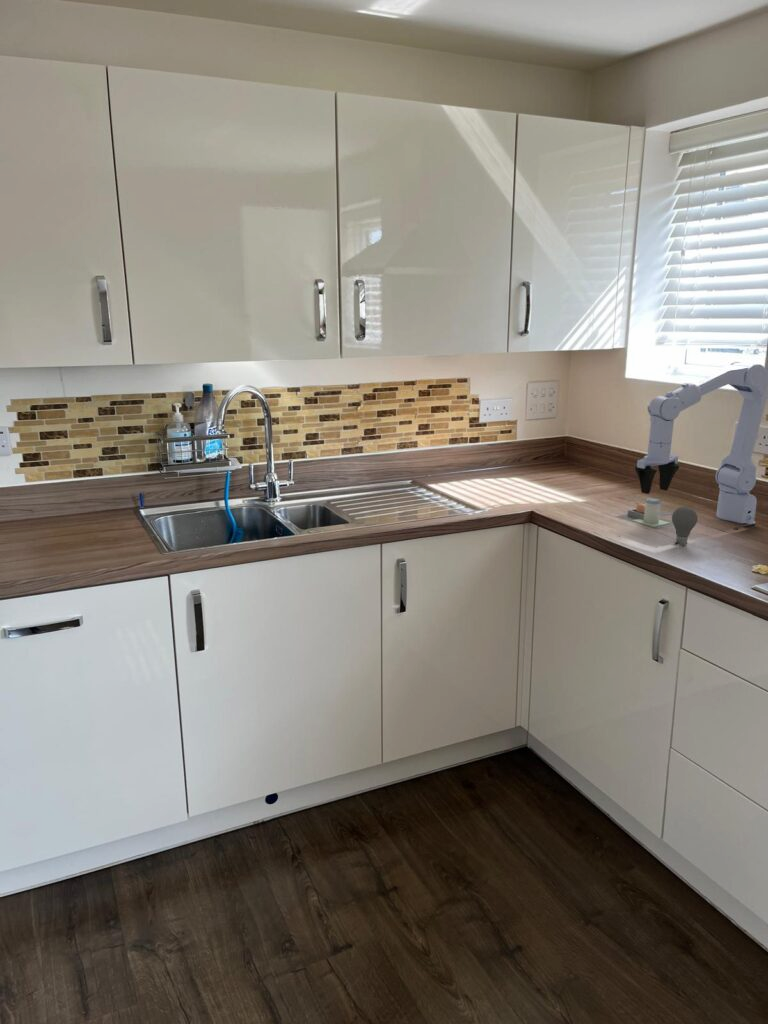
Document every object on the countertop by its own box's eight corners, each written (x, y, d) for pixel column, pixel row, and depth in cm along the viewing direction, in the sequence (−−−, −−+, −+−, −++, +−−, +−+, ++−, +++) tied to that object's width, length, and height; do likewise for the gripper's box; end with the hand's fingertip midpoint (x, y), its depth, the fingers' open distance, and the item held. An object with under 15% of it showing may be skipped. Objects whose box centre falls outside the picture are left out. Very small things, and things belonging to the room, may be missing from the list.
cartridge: (657, 524, 206) (660, 502, 205) (642, 522, 208) (644, 500, 206) (659, 520, 210) (662, 499, 208) (644, 518, 211) (646, 497, 210)
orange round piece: (651, 515, 213) (653, 505, 213) (643, 517, 212) (644, 507, 211) (641, 512, 216) (642, 502, 216) (633, 514, 214) (634, 504, 214)
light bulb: (688, 541, 196) (692, 503, 194) (698, 548, 190) (703, 510, 188) (665, 541, 196) (669, 503, 193) (674, 548, 190) (679, 510, 188)
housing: (696, 524, 212) (697, 514, 211) (656, 533, 203) (657, 523, 202) (654, 512, 223) (655, 503, 222) (614, 520, 214) (615, 511, 213)
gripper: (664, 437, 210) (659, 485, 214) (629, 441, 202) (624, 491, 206) (687, 441, 204) (681, 490, 208) (651, 446, 197) (646, 497, 200)
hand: (654, 491), depth 207 cm, fingers open, 7 cm apart
